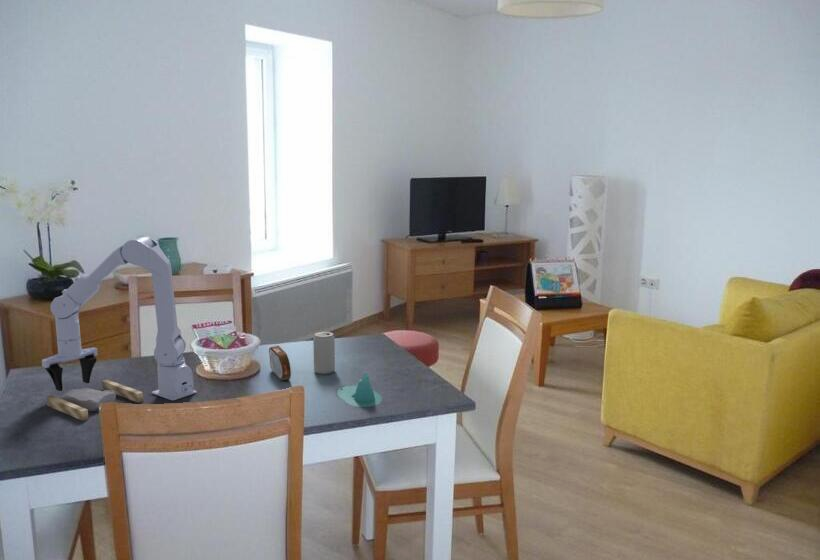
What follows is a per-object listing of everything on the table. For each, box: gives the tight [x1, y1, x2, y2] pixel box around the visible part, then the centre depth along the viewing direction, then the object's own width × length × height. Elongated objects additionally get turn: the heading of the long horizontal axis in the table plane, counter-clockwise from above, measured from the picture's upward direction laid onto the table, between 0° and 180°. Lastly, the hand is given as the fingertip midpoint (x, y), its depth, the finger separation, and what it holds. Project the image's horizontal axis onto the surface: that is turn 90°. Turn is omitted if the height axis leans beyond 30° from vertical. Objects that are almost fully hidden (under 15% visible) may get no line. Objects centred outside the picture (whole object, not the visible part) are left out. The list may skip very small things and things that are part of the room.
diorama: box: [336, 371, 383, 408], centre depth 192 cm, size 12×20×9 cm, turn 26°
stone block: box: [60, 386, 117, 412], centre depth 184 cm, size 12×5×10 cm
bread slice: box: [268, 345, 292, 381], centre depth 207 cm, size 15×3×8 cm, turn 26°
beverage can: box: [312, 331, 336, 375], centre depth 211 cm, size 6×6×12 cm
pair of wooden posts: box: [46, 379, 144, 422], centre depth 184 cm, size 17×17×2 cm
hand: (73, 386), depth 190 cm, fingers open, 7 cm apart
